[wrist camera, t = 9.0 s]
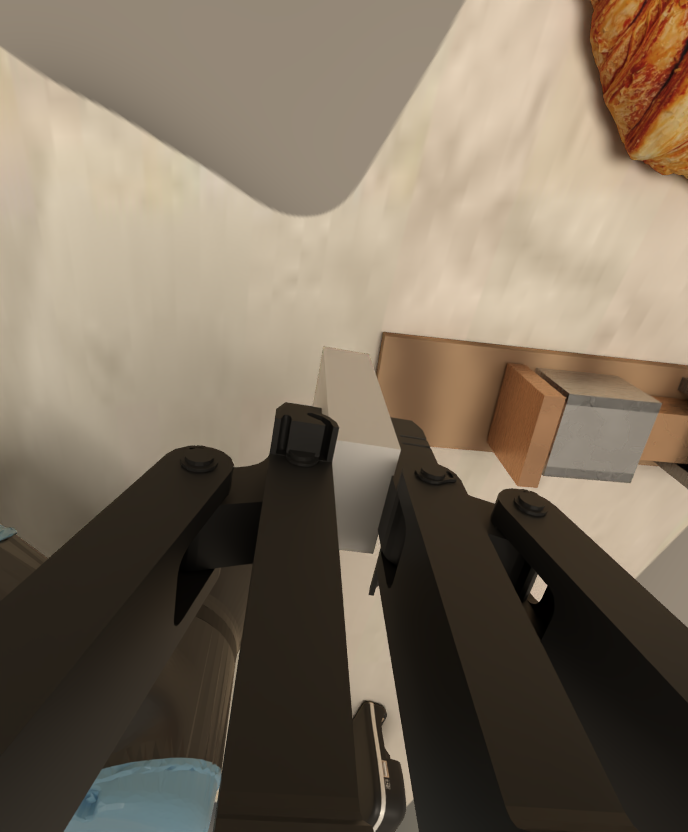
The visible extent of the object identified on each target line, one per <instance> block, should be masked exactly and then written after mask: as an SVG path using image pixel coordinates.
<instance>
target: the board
mask: <svg viewBox="0 0 688 832" xmlns="http://www.w3.org/2000/svg"><path fill="white" fill-rule="evenodd" d="M507 363H513V364H522V365H526V366H528V367H529V368H530V369H531V370H533V371H534V372H535V370H536V367H537V368H547V369H556V370H565V371H575V372H584V373H594V374H603V375H613V376H619V377H620V378H622V379H624V380H625V381H627V382H628V383H630V384H632V385H633V386H635V387H637V388H638V389H640V390H642V391H643V392H645V393H646V394H648V395H650V396H657V397H666V398H676V399H686V400H688V395H687V394H685V393H683V392H681V391H679V390H677V389H678V386H679V384H680V381H681V379H682V377H688V366H687V365H678V364H669V363H660V362H651V361H642V360H633V359H624V358H615V357H606V356H596V355H587V354H578V353H569V352H560V351H551V350H542V349H533V348H524V347H515V346H506V345H496V344H487V343H478V342H469V341H460V340H451V339H442V338H433V337H424V336H415V335H405V334H396V333H387V332H383V335H382V341H381V347H380V353H379V360H378V366H377V372H376V376H377V379H378V382H379V385H380V388H381V391H382V394H383V397H384V400H385V403H386V406H387V409H388V412H389V415H390V417H393V418H399V419H405V420H412V421H413V422H414V423H415V424H416V425H418V426H419V427H420V428H421V429H422V430H423V432H424V434H425V436H426V439H427V440H426V441H428V443H429V445H430V447H441V448H453V449H464V450H476V451H487V452H493V451H492V449H491V448H490V446H489V445H488V443H487V439H488V435H489V431H490V428H491V424H492V420H493V416H494V412H495V409H496V405H497V401H498V397H499V393H500V390H501V386H502V382H503V378H504V375H505V371H506V367H507ZM638 464H639V465H650V466H658V465H657V464H656V463H655V462H653V461H648V460H639V463H638Z"/></svg>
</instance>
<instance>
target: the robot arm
mask: <svg viewBox="0 0 688 832" xmlns="http://www.w3.org/2000/svg"><path fill="white" fill-rule="evenodd" d="M426 440H427V439H426V436H425V434H424V432H423V430H422V429H421V428H420V427H419V426H418V425H416V424H415V423H414V422H413V421H412V420H405V419H399V418H393V417H390V415H389V412H388V409H387V406H386V403H385V400H384V397H383V394H382V391H381V388H380V385H379V382H378V379H377V376H376V373H375V370H374V367H373V364H372V361H371V358H370V355H369V354H365V353H359V352H353V351H347V350H342V349H336V348H330V347H324V346H323V352H322V357H321V363H320V368H319V374H318V379H317V385H316V390H315V395H314V401H313V406H306V405H300V404H293V403H287V402H285V403H284V404H282V405H281V406H280V407H278V408H277V409H276V416H275V422H274V429H273V435H272V442H271V448H270V454H269V456H268V457H267V458H266V459H265V460H264V461H263V462H261V463H259V464H256V465H252V466H246V467H234V464H233V462H232V459H231V458H230V457H229V456H228V455H227V454H225V453H224V452H222V451H219V450H217V449H214V448H209V447H205V446H198V445H197V446H195V445H194V446H186V447H182V448H178V449H175V450H173V451H171V452H169V453H168V454H166V455H165V456H164V457H163V458H162V459H160V460H159V461H158V462H157V463H156V464H155V465H154V466H153V467H151V468H150V469H149V470H148V471H147V472H146V473H145V474H144V475H142V476H141V477H140V478H139V479H138V480H137V481H136V482H134V483H133V484H132V485H131V486H130V487H129V488H128V489H127V490H125V491H124V492H123V493H122V494H121V495H120V496H119V497H118V498H116V499H115V500H114V501H113V502H112V503H111V504H110V505H108V506H107V507H106V508H105V509H104V510H103V511H102V512H101V513H99V514H98V515H97V516H96V517H95V518H94V519H93V520H92V521H90V522H89V523H88V524H87V525H86V526H85V527H84V528H83V529H81V530H80V531H79V532H78V533H77V534H76V535H75V536H73V537H72V538H71V539H70V540H69V541H68V542H67V543H66V544H64V545H63V546H62V547H61V548H60V549H59V550H58V551H57V552H55V553H54V554H53V555H52V556H51V557H50V558H49V559H48V558H47V557H45V556H44V555H43V554H41V553H40V552H39V551H37V550H36V549H35V548H33V547H32V546H31V545H29V544H28V543H27V542H25V541H24V540H22V539H21V538H20V537H18V536H17V535H16V534H17V533H18V532H17V531H16V530H15V529H14V528H12V527H9V528H7V527H4V526H3V525H1V524H0V832H208V830H209V825H210V820H211V816H212V811H213V806H214V801H215V796H216V792H217V790H218V788H219V794H218V801H217V808H216V815H215V821H214V828H213V832H374V830H373V827H372V826H371V825H370V824H368V823H366V822H365V821H363V819H362V815H361V812H360V805H359V797H358V784H357V772H356V759H355V746H354V734H353V721H352V708H351V696H350V683H349V670H348V658H347V645H346V632H345V620H344V607H343V594H342V581H341V569H340V556H339V550H346V551H355V552H363V553H371V554H373V552H374V549H375V545H376V541H377V537H378V534H379V539H380V544H381V548H380V552H379V556H378V559H377V563H376V567H375V571H374V574H373V578H372V582H371V585H370V590H369V595H373V596H374V593H375V589H376V587H377V586H379V589H380V595H381V601H382V607H383V613H384V620H385V626H386V632H387V638H388V644H389V650H390V656H391V663H392V669H393V675H394V681H395V687H396V693H397V699H398V706H399V712H400V718H401V724H402V730H403V736H404V742H405V748H406V755H407V761H408V767H409V773H410V779H411V785H412V791H413V798H414V804H415V810H416V816H417V822H418V828H419V832H688V628H687V627H686V626H685V625H684V624H683V623H682V622H681V621H680V620H679V619H677V618H676V617H675V616H674V615H673V614H672V613H671V612H670V611H669V610H668V609H667V608H666V607H665V606H663V605H662V604H661V603H660V602H659V601H658V600H657V599H656V598H655V597H654V596H653V595H652V594H650V593H649V592H648V591H647V590H646V589H645V588H644V587H643V586H642V585H641V584H640V583H639V582H637V581H636V580H635V579H634V578H633V577H632V576H631V575H630V574H629V573H628V572H627V571H625V570H624V569H623V568H622V567H621V566H620V565H619V564H618V563H617V562H616V561H615V560H614V559H612V558H611V557H610V556H609V555H608V554H607V553H606V552H605V551H604V550H603V549H602V548H600V547H599V546H598V545H597V544H596V543H595V542H594V541H593V540H592V539H591V538H590V537H589V536H587V535H586V534H585V533H584V532H583V531H582V530H581V529H580V528H579V527H578V526H577V525H576V524H574V523H573V522H572V521H571V520H570V519H569V518H568V517H567V516H566V515H565V514H564V513H562V512H561V511H560V510H559V509H558V508H557V507H556V506H555V505H553V504H552V503H551V502H549V501H548V500H547V499H545V498H543V497H541V496H539V495H538V494H537V493H535V492H532V491H530V492H529V491H528V490H525V489H513V488H511V489H505V490H503V491H501V492H500V493H499V494H498V497H497V500H496V503H495V504H494V503H491V502H488V501H484V500H481V499H478V498H475V497H472V496H470V495H468V494H467V492H466V490H465V488H464V486H463V483H462V481H461V480H460V479H459V477H458V476H457V475H456V474H455V473H454V472H452V471H451V470H449V469H448V468H446V467H443V466H441V465H439V464H438V463H437V461H436V459H435V457H434V454H433V452H432V450H431V448H430V445H429V443H428V441H426ZM537 575H539V576H540V577H541V578H542V580H543V581H544V582H545V583H546V584H547V585H548V586H547V588H546V590H545V593H544V595H543V597H542V599H541V600H540V602H538V601H537V600H536V599H535V598H534V597H533V596H532V595H531V593H530V591H531V589H532V587H533V584H534V582H535V580H536V577H537ZM239 650H240V653H239V660H238V667H237V673H236V680H235V687H234V693H233V700H232V707H231V714H230V720H229V727H228V734H227V740H226V747H225V739H226V731H227V724H228V716H229V709H230V701H231V693H232V686H233V678H234V670H235V662H236V656H237V653H238V651H239ZM224 747H225V754H224ZM223 754H224V761H223ZM222 762H223V767H222ZM221 770H222V773H221ZM219 786H220V787H219Z"/></svg>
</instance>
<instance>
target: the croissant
mask: <svg viewBox="0 0 688 832" xmlns="http://www.w3.org/2000/svg"><path fill="white" fill-rule="evenodd" d="M591 3H592V6H593V9H594V12H593V14H592V21H591V30H590V43H591V45H592V53H593V56H594V59H595V63H596V65H597V67H598V70H599V73H600V81H601V84H602V89H603V97H604V101H605V104H606V106H607V107H608V109H609V110H610V113H611V115H612V117H613V119H614V121H615V123H616V125H617V128H618V131H619V134H620V137H621V141H622V142H623V143H624V144H625V149H626V151H627V153H628V154H629V156H630V158H631V159H632V160H642V161H643V162H644V163H645V164H649V165H650V167H652V168H653V169H654V170H655V171H657V172H659V173H660V174H662V175H669V174H672V173H675V174H678V175H684V177H685V178H687V179H688V0H591Z"/></svg>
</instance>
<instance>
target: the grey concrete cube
mask: <svg viewBox="0 0 688 832" xmlns="http://www.w3.org/2000/svg"><path fill="white" fill-rule="evenodd" d="M535 373H536V374H537V375H539V376H540V377H541V378H542V379H544V380H545V381H546V382H547V383H548V384H550V385H551V386H552V387H553V388H555V389H556V390H557V391H558V392H559V393H561V394H562V395H563V396H564V397H566V399H565V403H564V406H563V409H562V412H561V415H560V418H559V421H558V424H557V428H556V431H555V434H554V437H553V440H552V443H551V446H550V450H549V453H548V456H547V459H546V462H545V465H544V468H543V471H542V475H543V476H551V477H563V478H576V479H588V480H600V481H613V482H625V483H631V480H632V478H633V475H634V473H635V470H636V468H637V465H638V463H639V460H640V458H641V455H642V453H643V450H644V448H645V445H646V443H647V440H648V438H649V435H650V433H651V430H652V428H653V425H654V423H655V420H656V418H657V415H658V413H659V410H660V408H661V405H662V403H661V402H659V401H658V400H656V399H655V398H653V397H651V396H650V395H648V394H646V393H645V392H643V391H642V390H640V389H638V388H637V387H635V386H633V385H632V384H630V383H628V382H627V381H625V380H624V379H622V378H620V377H619V376H613V375H603V374H594V373H584V372H575V371H565V370H556V369H547V368H537V367H536V370H535Z"/></svg>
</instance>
